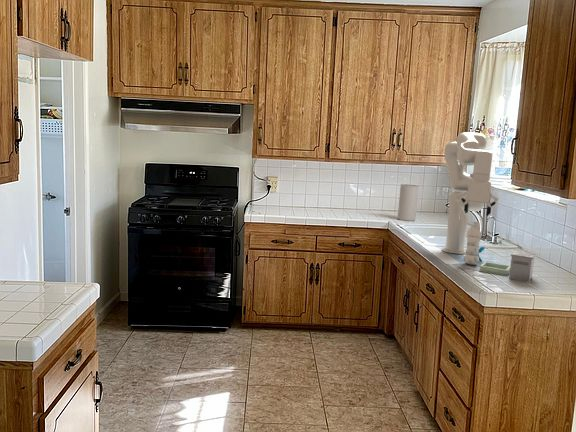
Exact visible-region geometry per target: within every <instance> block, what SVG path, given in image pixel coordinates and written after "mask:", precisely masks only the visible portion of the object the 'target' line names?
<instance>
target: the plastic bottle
mask: <svg viewBox="0 0 576 432" xmlns="http://www.w3.org/2000/svg"><path fill="white" fill-rule="evenodd" d="M466 236H467V237H466V249H465V250H466V254H464V257H463V259H464V263H465V264H466V265H470V266H476V265H478V264H479V262H480V260H479V257H480V255H479V256H478V251H479V249H480V248H479V247H480V243H481V239H482V232H481V230H480V223H479V222H475V221H472V222H471V224H470V228H469V229H468V230H467V231H466Z"/></svg>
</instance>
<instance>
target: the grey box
mask: <svg viewBox="0 0 576 432" xmlns="http://www.w3.org/2000/svg"><path fill="white" fill-rule="evenodd" d="M536 256H537V254H536V253H531V252H527V251H521V250H514V251H512V253H510V257H511V260H510V265H509V266H510V272H509V274H508V279H510V280H516V281H521V282H528V283H530V281H531V280H532V278H533V273H534V263H535V257H536Z"/></svg>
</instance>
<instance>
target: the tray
mask: <svg viewBox="0 0 576 432" xmlns="http://www.w3.org/2000/svg"><path fill="white" fill-rule="evenodd" d="M510 266H511V265H508V264H501V263H496V262H489V261H484V262H483V263H481V265H479V271H480V272H485V273H489V274H495V275H501V276H509V274H510Z"/></svg>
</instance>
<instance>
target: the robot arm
mask: <svg viewBox="0 0 576 432" xmlns="http://www.w3.org/2000/svg"><path fill="white" fill-rule="evenodd" d="M457 135H458V136H457V137H456V140H455V141H451V142H448V143H446V145H445V146H444V152H443V153H444V160H445V163H446V166H447V168H448V174H449V176H448V177H449V185H450V189H451V191H453V192H452V193H450V194H449V197H448V220H447V231H446V239H445V246H444V247H442V249H441V250H442V251H443V252H445V253H448V254H449V253H450V254H456V255H465V254H466V249H465V245H466V240H467V237H466V236H467V231H468V230H467V228H468V217H467V215H466V214H467V213H468V212H469V211H471V212H479V211H482V210H483V208H484V206H485V203H486V205H487V207H486V216H487V217H488V216H489V215H491V212H492V207H494V206H495V205H496V204H497V203H498V201H499V197H497V196H496V195H494V194H492V181H490V180H491V179H490V178H491V171H492V162H493V153H492V151H490V150H485V148H486V146H487V138H486V136H485V135H484V133H478V132H461V133H459V134H457ZM466 166H473V170H472V173H469V174H468V173H467V171H466ZM491 199H493V201H492V202H491Z"/></svg>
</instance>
